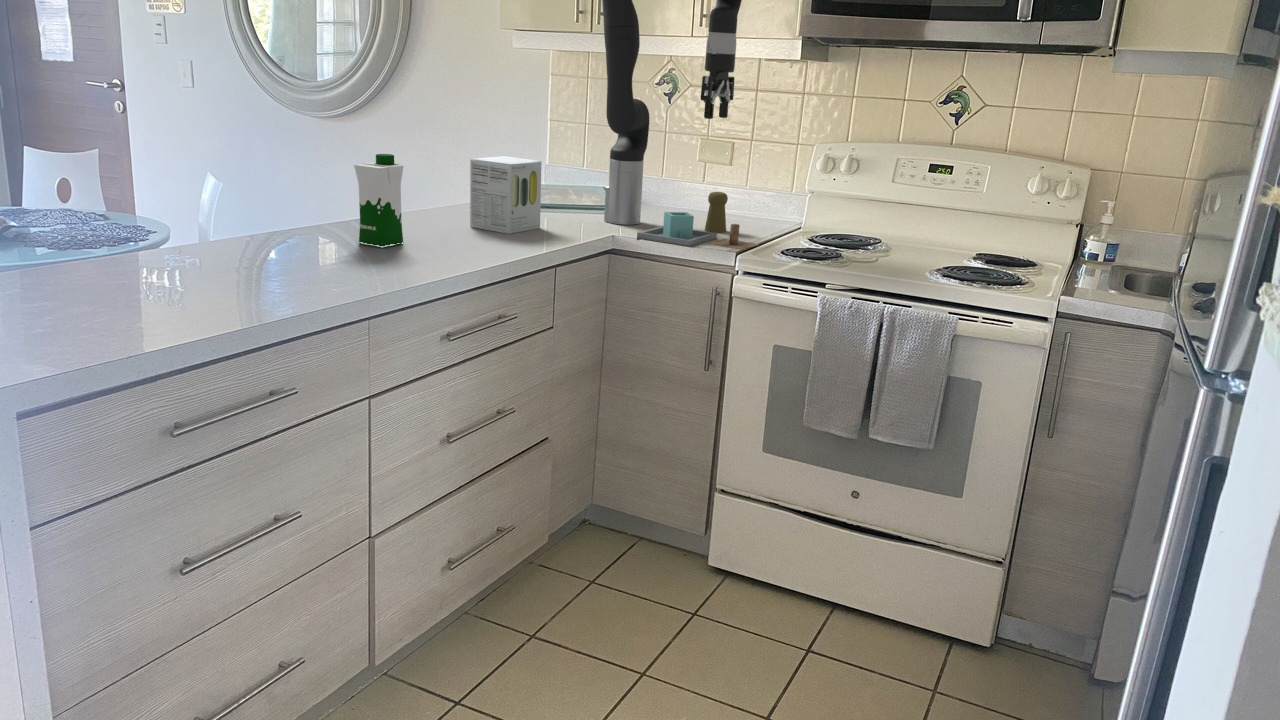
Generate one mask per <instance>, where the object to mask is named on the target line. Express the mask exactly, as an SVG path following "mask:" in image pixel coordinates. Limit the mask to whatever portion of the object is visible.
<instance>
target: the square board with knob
mask: <svg viewBox="0 0 1280 720" xmlns="http://www.w3.org/2000/svg"><path fill="white" fill-rule="evenodd" d="M740 226H741V225H740V224H738V223H730V228H729V229H730V230H729V238H722V239H719V240H716V241H715V240H714V241H711V242H709V243H707V245H710V246H717V247H722V248H730V249H736V250H740V251H742V250H743V251H745V250H747V249H750V248H753V247H756V246H759V245H760V243H753V242H748V241H741V240H739V235H740Z"/></svg>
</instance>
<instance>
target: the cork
mask: <svg viewBox="0 0 1280 720" xmlns="http://www.w3.org/2000/svg"><path fill="white" fill-rule="evenodd" d="M728 199H729V197H728V194H727V193H725V192H722V191H711V192H709V194H708V198H707V201H708V203H709V207H708V212H707V217H706V221H705V225H704V231H705V232H712V233H717V234H718V233H719V234H721V233H722V234H724V233H727V221H726V220H727V219H726V205H727V203H728Z"/></svg>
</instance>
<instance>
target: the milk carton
mask: <svg viewBox="0 0 1280 720" xmlns="http://www.w3.org/2000/svg"><path fill="white" fill-rule="evenodd" d="M353 166H354V170H355V175H356V178H357V183H358V202H359V203H358V204H359V233H358V234H359V237H358V243H359V242H363V243H367V244H373V245H379V246H385V245H390V244H397V243H402V242H403V243H404V236H403V235H404V234H403V233H404V232H403V224H402V192H401V191H402V188H401V186H402V178H403V172H404V165H402V164H400V163H399V164H398V163H395V154H391V153H390V154H389V153H377V154H375V162H363V163H361V164H359V163H357V164H353Z"/></svg>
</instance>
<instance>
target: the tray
mask: <svg viewBox="0 0 1280 720" xmlns="http://www.w3.org/2000/svg"><path fill="white" fill-rule="evenodd" d="M663 226H664V225H663ZM663 226H658V227H655V228H650V229H646V230H643V231H642V230H641V231H639V232H637V233H636V241H640V240H645V241H652V242H658V243H664V244H670V245H676V246H682V247H689V248H690V247H694V246H696V245H700V244H703V243H707V242H710V241H711V242H712V241H713V240H714V241H715V240H717V238H718V233H712V232H707V231H705V230H698V229H693V234H692V239H689V240H686V239H680V238H673V237H667V236H663Z"/></svg>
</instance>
